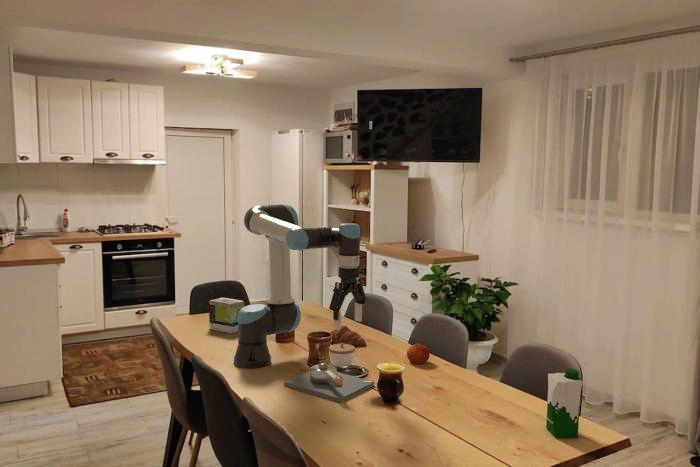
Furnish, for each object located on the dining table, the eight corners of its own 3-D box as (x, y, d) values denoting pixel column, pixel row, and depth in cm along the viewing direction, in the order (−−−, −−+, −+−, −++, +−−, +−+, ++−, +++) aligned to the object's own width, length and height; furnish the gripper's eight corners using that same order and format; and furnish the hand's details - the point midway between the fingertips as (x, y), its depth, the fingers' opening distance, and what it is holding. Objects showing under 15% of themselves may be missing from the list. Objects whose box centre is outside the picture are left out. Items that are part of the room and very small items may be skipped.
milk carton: (582, 439, 181) (586, 375, 179) (553, 440, 180) (557, 375, 178) (569, 427, 189) (573, 365, 187) (541, 427, 189) (545, 366, 186)
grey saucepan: (305, 376, 226) (305, 361, 225) (329, 372, 230) (330, 358, 229) (326, 396, 206) (327, 380, 206) (353, 392, 210) (353, 376, 210)
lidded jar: (351, 371, 238) (352, 348, 237) (325, 368, 240) (326, 346, 239) (357, 362, 248) (357, 340, 247) (331, 360, 250) (332, 338, 249)
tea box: (245, 329, 296) (245, 300, 294) (230, 334, 287) (230, 304, 286) (223, 325, 304) (222, 296, 302) (208, 329, 295) (208, 299, 294)
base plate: (284, 385, 221) (284, 381, 220) (319, 370, 237) (319, 366, 237) (340, 402, 205) (340, 398, 205) (374, 385, 222) (374, 381, 222)
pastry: (356, 337, 287) (356, 321, 286) (366, 346, 272) (367, 329, 272) (322, 339, 282) (322, 323, 281) (331, 349, 267) (331, 331, 266)
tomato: (403, 363, 249) (403, 344, 248) (411, 357, 257) (412, 339, 256) (424, 367, 244) (424, 348, 244) (432, 361, 253) (432, 342, 252)
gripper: (337, 272, 201) (336, 334, 203) (376, 263, 221) (374, 319, 224) (319, 270, 205) (318, 330, 207) (359, 261, 226) (358, 316, 228)
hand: (347, 324), depth 215 cm, fingers open, 13 cm apart
